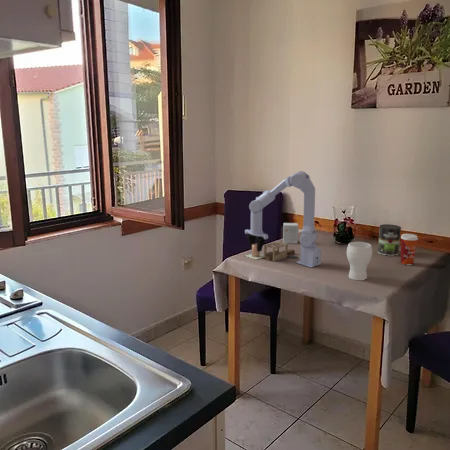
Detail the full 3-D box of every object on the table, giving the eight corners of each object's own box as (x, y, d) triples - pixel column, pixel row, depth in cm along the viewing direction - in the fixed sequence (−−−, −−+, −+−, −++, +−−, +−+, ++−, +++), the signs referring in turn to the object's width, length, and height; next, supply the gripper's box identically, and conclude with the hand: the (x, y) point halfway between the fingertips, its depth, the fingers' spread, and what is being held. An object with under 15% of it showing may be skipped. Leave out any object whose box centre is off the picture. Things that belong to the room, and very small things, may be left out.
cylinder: (261, 256, 229) (261, 244, 228) (255, 257, 227) (255, 246, 225) (255, 254, 232) (256, 242, 231) (250, 255, 230) (250, 244, 228)
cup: (365, 273, 205) (367, 241, 202) (373, 281, 195) (376, 248, 191) (342, 273, 205) (344, 241, 201) (349, 282, 195) (351, 248, 191)
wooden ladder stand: (287, 257, 229) (287, 244, 227) (273, 261, 222) (273, 248, 221) (277, 254, 233) (278, 241, 232) (264, 258, 227) (264, 245, 225)
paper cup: (405, 267, 213) (407, 238, 210) (394, 262, 221) (397, 234, 217) (419, 265, 215) (422, 236, 212) (408, 260, 223) (411, 232, 219)
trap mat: (298, 257, 228) (298, 256, 228) (293, 258, 226) (293, 258, 226) (292, 255, 231) (292, 254, 231) (287, 257, 229) (287, 256, 229)
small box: (297, 241, 257) (297, 222, 255) (297, 243, 252) (298, 225, 250) (282, 240, 258) (283, 222, 256) (283, 243, 253) (283, 225, 250)
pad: (267, 256, 229) (267, 256, 229) (255, 260, 224) (255, 259, 224) (255, 253, 235) (255, 252, 235) (244, 256, 230) (244, 255, 230)
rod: (294, 254, 234) (294, 250, 233) (268, 261, 223) (268, 256, 223) (291, 253, 236) (291, 249, 235) (265, 260, 225) (265, 255, 225)
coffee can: (399, 256, 229) (402, 229, 225) (378, 255, 231) (380, 228, 228) (397, 250, 238) (399, 224, 235) (376, 249, 241) (378, 223, 238)
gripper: (272, 225, 223) (272, 251, 226) (251, 220, 234) (251, 245, 237) (262, 227, 218) (262, 254, 222) (241, 222, 229) (241, 248, 232)
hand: (256, 250), depth 229 cm, fingers open, 4 cm apart
